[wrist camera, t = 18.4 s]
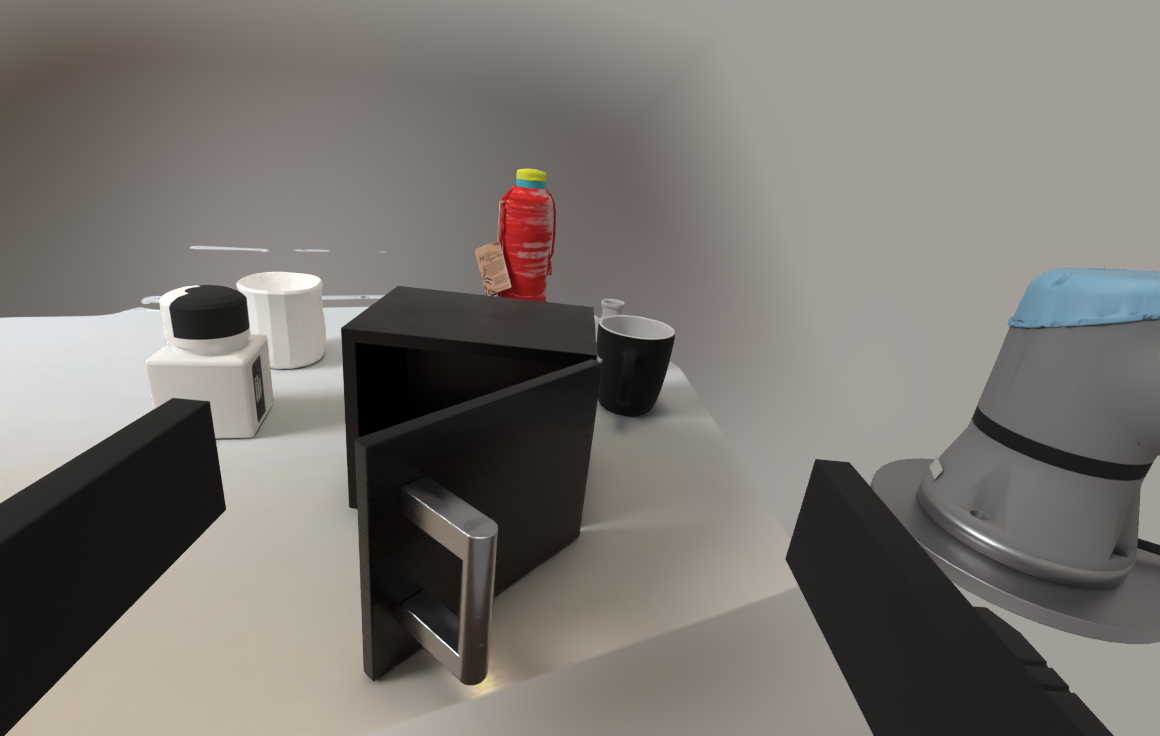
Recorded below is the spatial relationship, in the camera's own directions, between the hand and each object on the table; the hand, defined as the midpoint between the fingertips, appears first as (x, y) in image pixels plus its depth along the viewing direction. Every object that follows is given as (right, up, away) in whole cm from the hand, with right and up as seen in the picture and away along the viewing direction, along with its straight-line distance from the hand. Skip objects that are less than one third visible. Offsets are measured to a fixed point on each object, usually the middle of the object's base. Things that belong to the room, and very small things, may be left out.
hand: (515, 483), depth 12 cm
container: (-34, -3, +42) cm, 54 cm away
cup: (-36, +4, +59) cm, 69 cm away
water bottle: (-10, +8, +78) cm, 79 cm away
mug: (+7, -3, +55) cm, 55 cm away
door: (-2, -13, +23) cm, 27 cm away
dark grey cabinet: (-8, -7, +38) cm, 40 cm away
